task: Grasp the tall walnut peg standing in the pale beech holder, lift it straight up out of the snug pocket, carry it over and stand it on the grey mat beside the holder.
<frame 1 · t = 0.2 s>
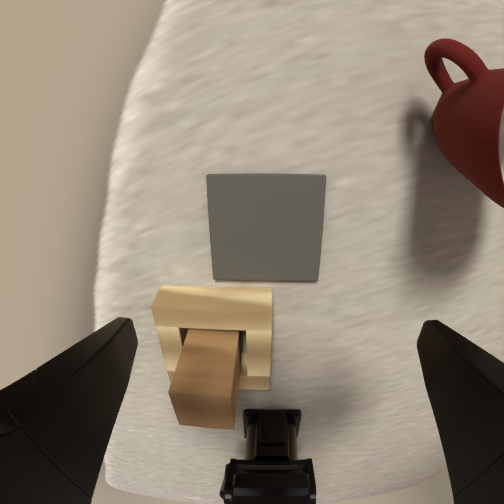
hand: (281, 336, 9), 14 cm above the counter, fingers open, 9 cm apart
holder: (219, 330, 27), on the counter
mug: (442, 112, 18), on the counter
peg: (219, 329, 27), resting in holder
mat: (266, 228, 22), on the counter
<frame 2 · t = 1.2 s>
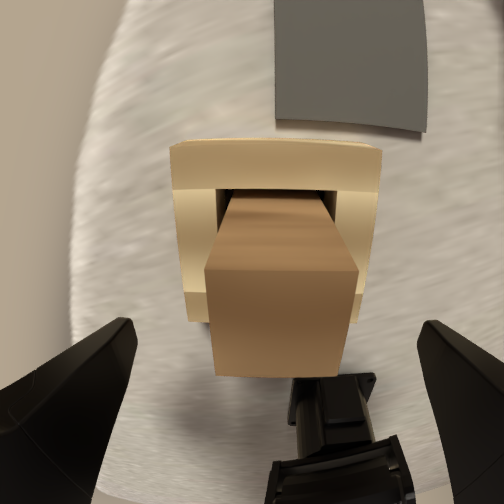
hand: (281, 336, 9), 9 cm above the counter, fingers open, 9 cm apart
holder: (274, 222, 17), on the counter
peg: (274, 221, 17), resting in holder
mat: (354, 49, 13), on the counter
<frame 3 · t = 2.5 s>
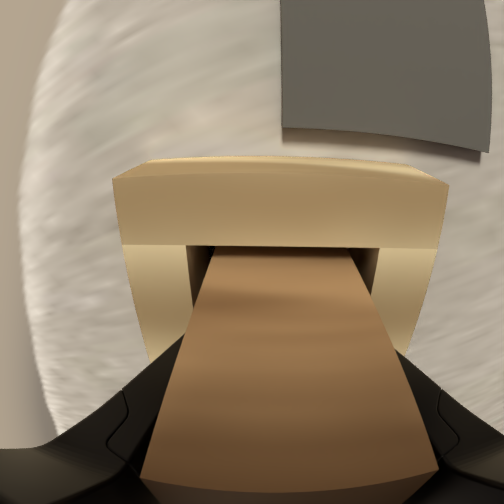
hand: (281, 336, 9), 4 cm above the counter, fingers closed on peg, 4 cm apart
holder: (278, 276, 12), on the counter
peg: (278, 275, 12), resting in holder, touching gripper
mat: (396, 28, 8), on the counter
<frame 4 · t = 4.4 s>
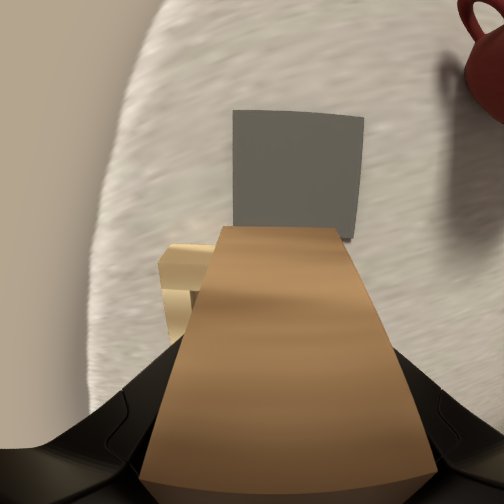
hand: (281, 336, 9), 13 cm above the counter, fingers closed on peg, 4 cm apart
holder: (235, 301, 23), on the counter
mug: (472, 68, 15), on the counter
peg: (278, 276, 12), point 9 cm above the counter, touching gripper
mat: (297, 174, 19), on the counter
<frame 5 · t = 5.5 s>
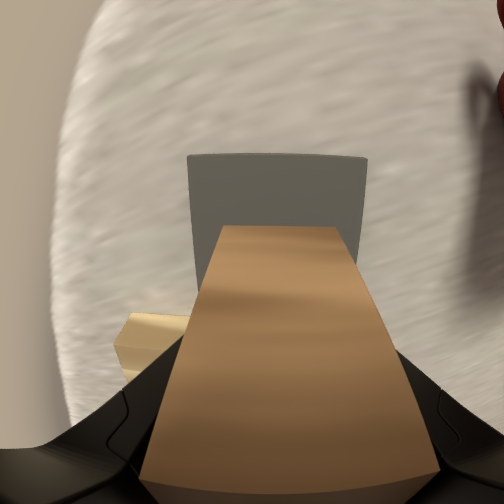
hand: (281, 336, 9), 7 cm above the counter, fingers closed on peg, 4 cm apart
holder: (210, 370, 19), on the counter
peg: (278, 275, 12), point 4 cm above the counter, touching gripper
mat: (276, 236, 15), on the counter
when the fingers open (5 cm above the counter, at t = 6.3 s): peg stays where it is, resting on mat.
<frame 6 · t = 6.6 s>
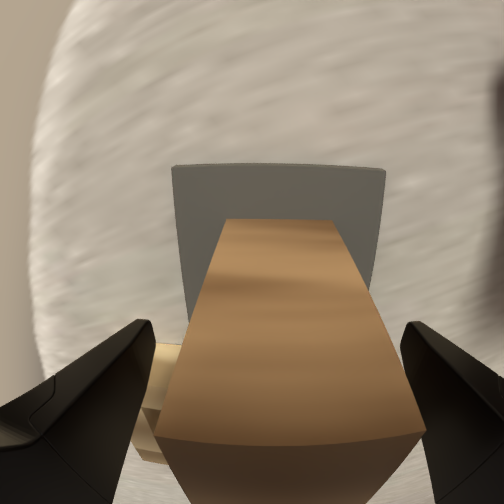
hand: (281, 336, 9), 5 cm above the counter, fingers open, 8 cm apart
holder: (205, 399, 17), on the counter
peg: (278, 266, 13), resting on mat
mat: (278, 260, 13), on the counter
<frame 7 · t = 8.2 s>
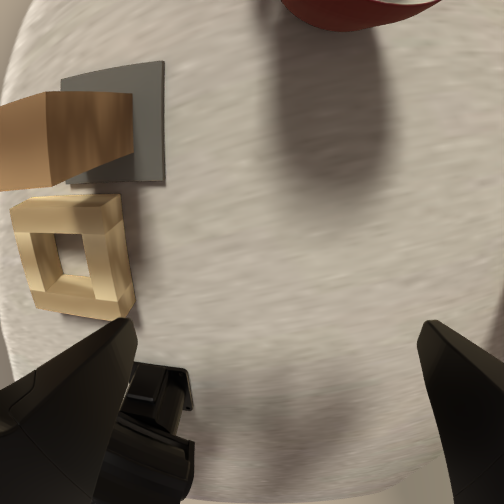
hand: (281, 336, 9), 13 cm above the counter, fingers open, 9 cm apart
holder: (79, 248, 23), on the counter
peg: (106, 125, 18), resting on mat
mat: (109, 124, 18), on the counter
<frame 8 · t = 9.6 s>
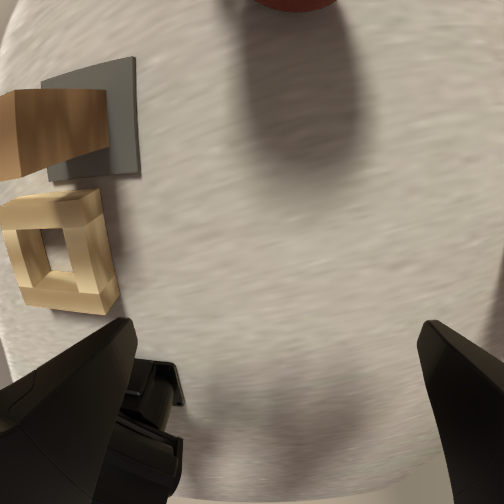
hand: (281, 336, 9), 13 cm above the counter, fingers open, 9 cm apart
holder: (64, 244, 23), on the counter
peg: (83, 122, 18), resting on mat
mat: (87, 121, 18), on the counter
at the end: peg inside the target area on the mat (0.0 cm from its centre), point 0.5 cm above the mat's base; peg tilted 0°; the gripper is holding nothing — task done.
